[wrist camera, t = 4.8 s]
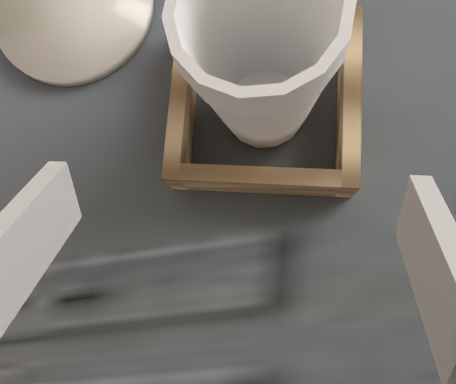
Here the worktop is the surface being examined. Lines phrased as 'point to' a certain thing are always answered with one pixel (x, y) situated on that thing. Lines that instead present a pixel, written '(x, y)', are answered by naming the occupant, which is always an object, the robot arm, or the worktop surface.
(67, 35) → the disc
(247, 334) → the worktop surface
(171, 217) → the worktop surface
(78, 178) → the worktop surface
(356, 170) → the holder
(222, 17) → the foam cup
